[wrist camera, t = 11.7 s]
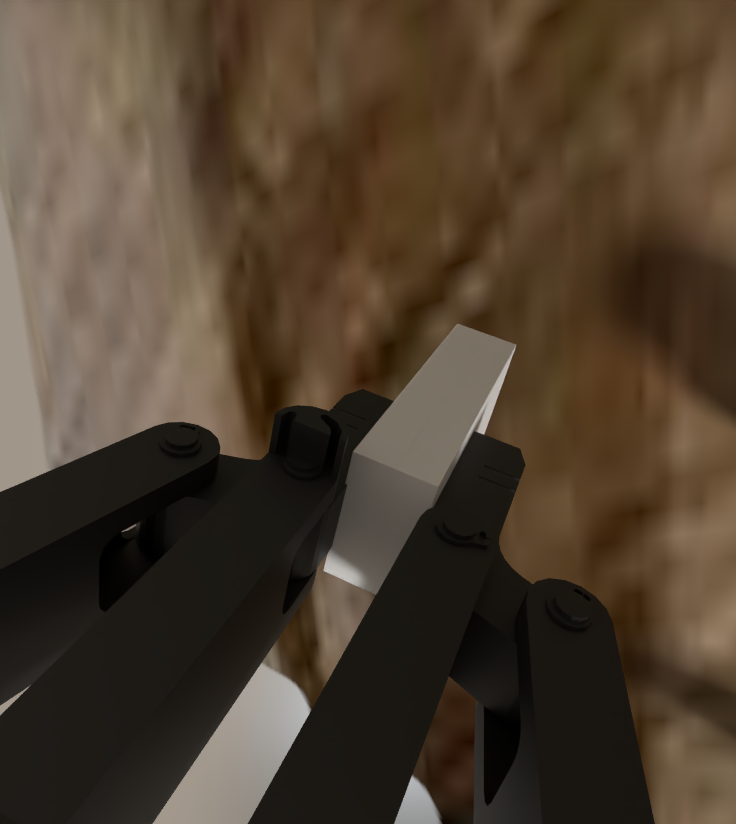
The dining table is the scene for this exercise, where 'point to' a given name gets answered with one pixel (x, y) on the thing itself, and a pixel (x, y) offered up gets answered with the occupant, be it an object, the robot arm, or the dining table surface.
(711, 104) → the dining table surface
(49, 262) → the dining table surface
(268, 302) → the dining table surface
